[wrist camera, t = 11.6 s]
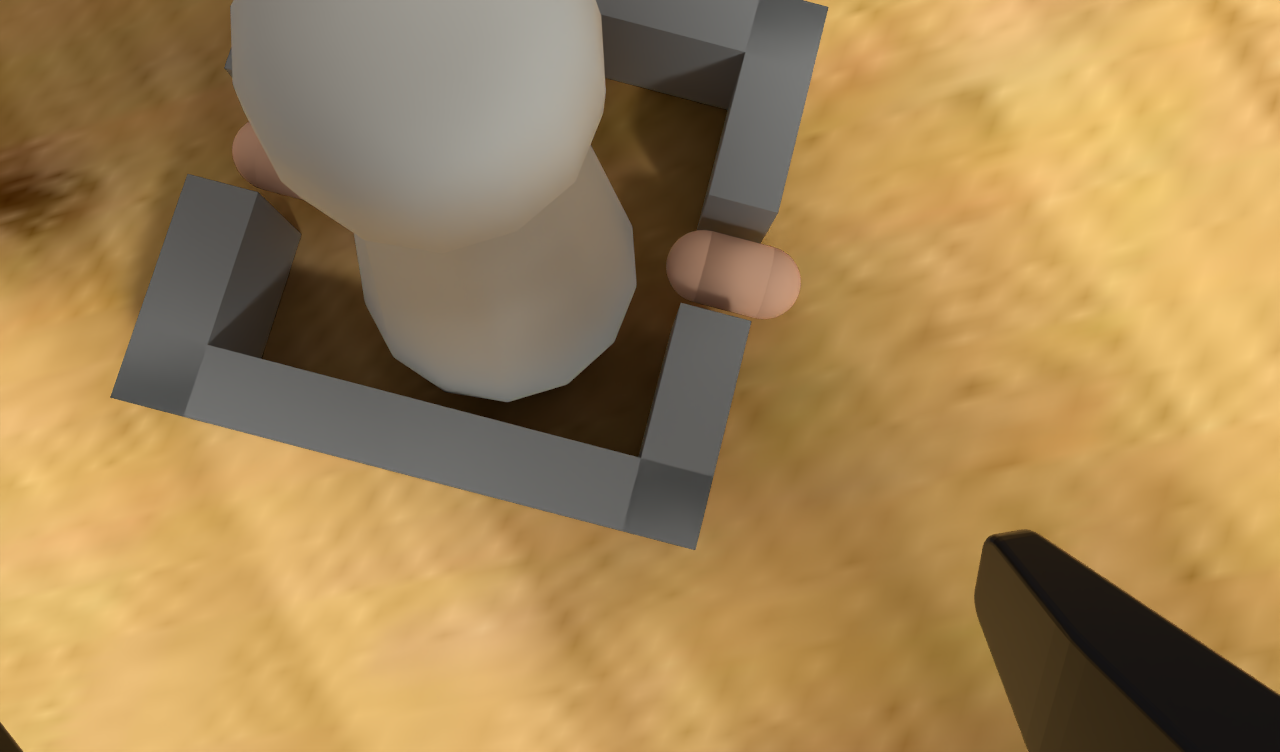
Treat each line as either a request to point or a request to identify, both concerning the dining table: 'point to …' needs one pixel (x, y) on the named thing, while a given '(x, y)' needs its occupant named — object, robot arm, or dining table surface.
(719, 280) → the plunger right
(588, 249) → the salt shaker
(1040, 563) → the robot arm
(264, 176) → the plunger left
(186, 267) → the grey square frame
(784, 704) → the dining table surface
